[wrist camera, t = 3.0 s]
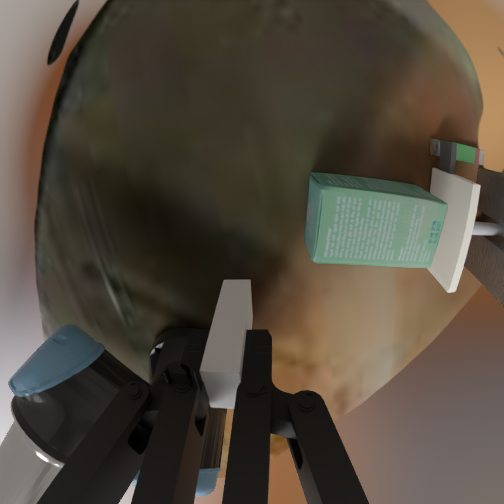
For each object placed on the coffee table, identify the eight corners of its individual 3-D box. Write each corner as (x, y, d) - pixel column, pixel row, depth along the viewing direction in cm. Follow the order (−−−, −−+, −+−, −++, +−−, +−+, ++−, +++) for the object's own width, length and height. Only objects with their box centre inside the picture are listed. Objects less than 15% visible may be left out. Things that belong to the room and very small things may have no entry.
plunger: (418, 258, 31) (447, 292, 24) (433, 138, 24) (476, 147, 17) (482, 256, 30) (511, 283, 23) (499, 155, 23) (538, 168, 16)
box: (306, 170, 28) (319, 186, 21) (415, 183, 27) (450, 202, 20) (301, 234, 31) (310, 266, 24) (404, 240, 30) (432, 269, 24)
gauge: (413, 264, 32) (457, 321, 21) (430, 137, 24) (499, 153, 14) (481, 261, 31) (525, 304, 20) (500, 155, 23) (560, 177, 13)
